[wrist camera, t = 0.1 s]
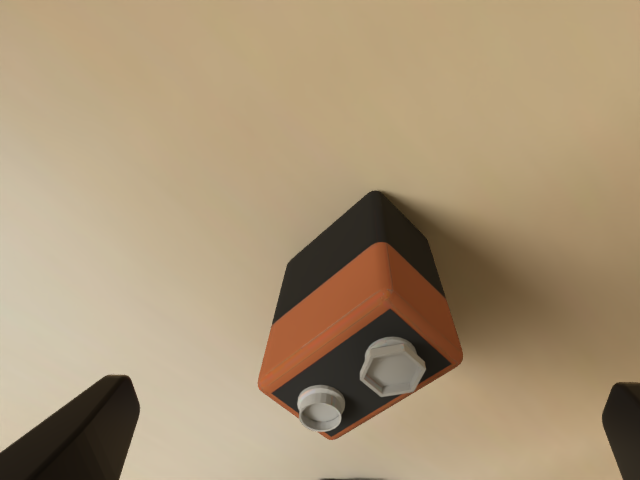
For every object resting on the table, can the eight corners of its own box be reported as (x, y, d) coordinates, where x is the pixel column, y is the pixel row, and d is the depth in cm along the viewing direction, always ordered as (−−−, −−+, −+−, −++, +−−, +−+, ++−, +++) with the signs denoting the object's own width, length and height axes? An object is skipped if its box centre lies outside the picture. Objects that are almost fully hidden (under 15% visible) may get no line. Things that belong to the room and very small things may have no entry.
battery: (430, 239, 23) (478, 385, 14) (338, 309, 26) (330, 469, 17) (375, 183, 22) (390, 305, 13) (283, 262, 24) (244, 409, 16)
